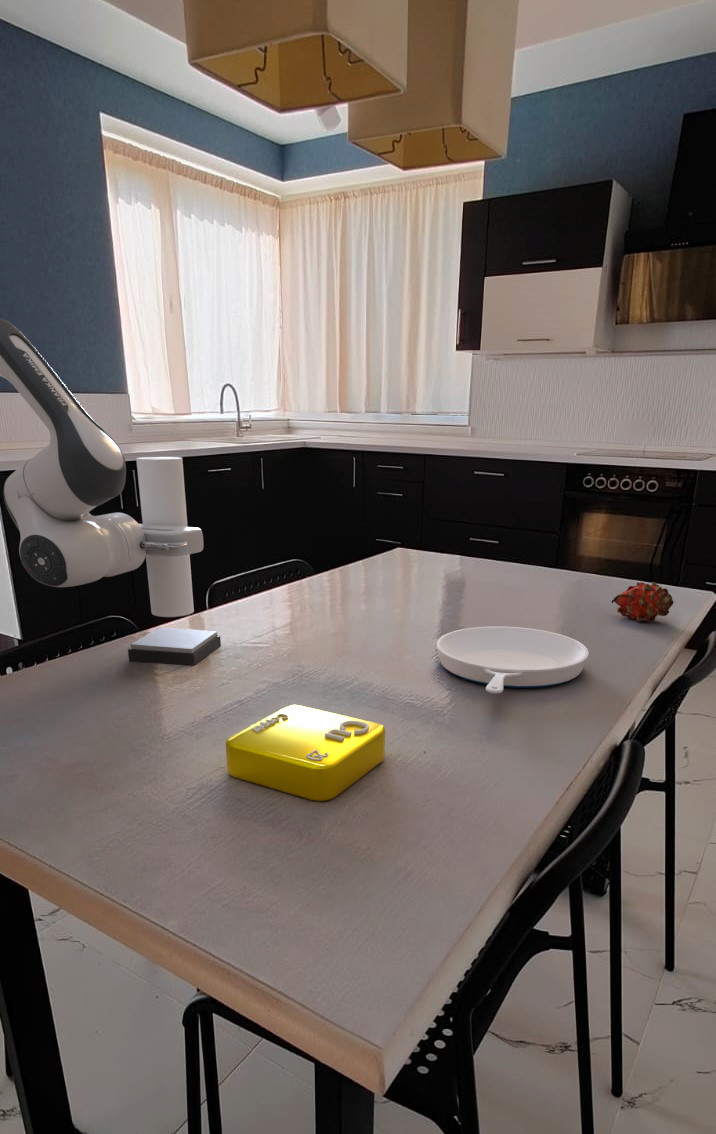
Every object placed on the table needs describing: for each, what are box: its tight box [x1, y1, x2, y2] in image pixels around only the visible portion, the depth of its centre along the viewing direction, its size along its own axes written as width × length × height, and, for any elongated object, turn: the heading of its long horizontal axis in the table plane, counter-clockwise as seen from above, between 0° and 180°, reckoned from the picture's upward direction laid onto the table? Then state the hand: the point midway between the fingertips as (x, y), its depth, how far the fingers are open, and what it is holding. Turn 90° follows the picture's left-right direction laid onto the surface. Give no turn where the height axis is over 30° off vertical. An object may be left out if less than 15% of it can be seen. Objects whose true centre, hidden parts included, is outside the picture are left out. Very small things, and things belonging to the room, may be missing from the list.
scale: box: [127, 627, 222, 666], centre depth 135 cm, size 12×12×3 cm
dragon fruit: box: [611, 581, 675, 623], centre depth 158 cm, size 8×8×12 cm
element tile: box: [224, 704, 386, 802], centre depth 93 cm, size 15×15×5 cm
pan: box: [435, 625, 590, 694], centre depth 123 cm, size 25×38×5 cm, turn 164°
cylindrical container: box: [135, 456, 195, 618], centre depth 128 cm, size 7×7×25 cm
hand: (168, 531), depth 128 cm, fingers closed on cylindrical container, 7 cm apart
